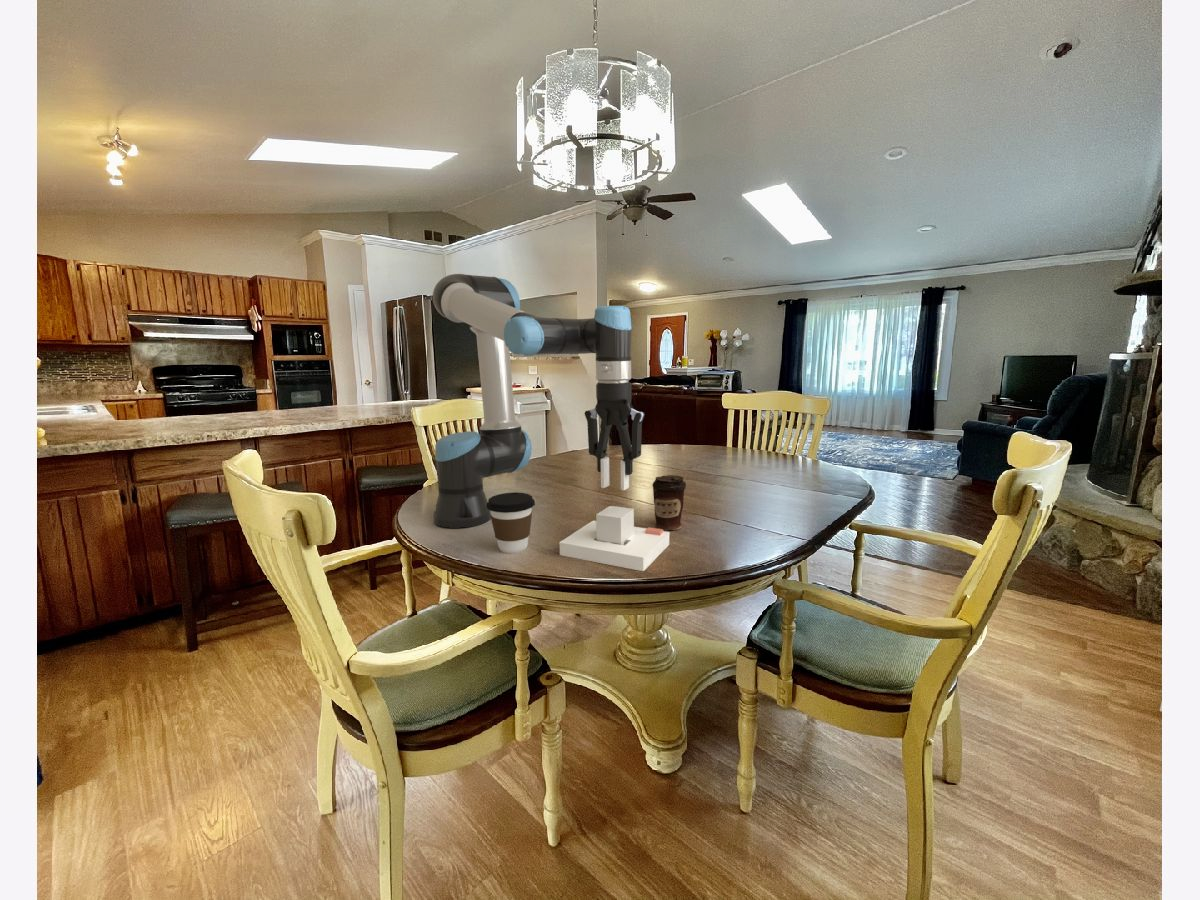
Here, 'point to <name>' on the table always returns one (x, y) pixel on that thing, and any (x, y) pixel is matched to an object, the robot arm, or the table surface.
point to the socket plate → (616, 547)
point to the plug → (615, 524)
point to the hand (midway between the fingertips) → (615, 487)
